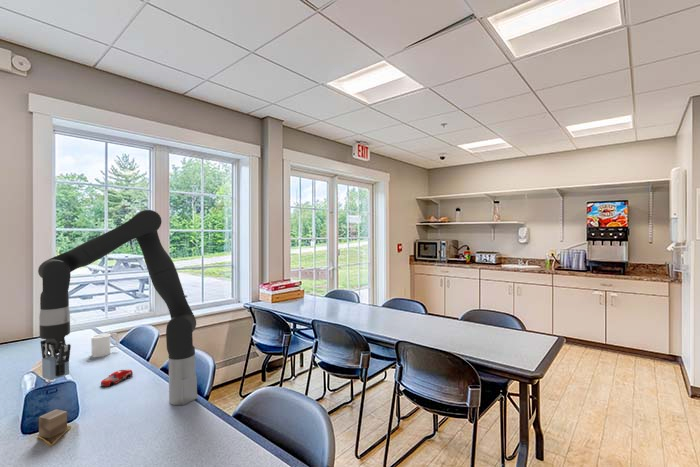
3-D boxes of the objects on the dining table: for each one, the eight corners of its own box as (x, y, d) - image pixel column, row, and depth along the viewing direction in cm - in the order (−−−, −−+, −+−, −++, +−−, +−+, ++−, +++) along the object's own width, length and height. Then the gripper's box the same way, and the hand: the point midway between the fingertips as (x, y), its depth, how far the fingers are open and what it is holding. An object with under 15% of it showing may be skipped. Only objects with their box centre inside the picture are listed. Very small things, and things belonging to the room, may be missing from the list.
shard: (52, 448, 106) (51, 442, 106) (22, 452, 105) (22, 446, 105) (72, 429, 117) (72, 423, 117) (46, 431, 115) (46, 426, 115)
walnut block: (67, 429, 113) (67, 411, 113) (49, 438, 108) (49, 419, 108) (56, 427, 115) (56, 409, 115) (38, 435, 110) (38, 416, 110)
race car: (106, 389, 146) (106, 379, 146) (97, 387, 147) (97, 377, 147) (135, 376, 158) (135, 367, 158) (126, 374, 160) (126, 366, 160)
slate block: (69, 374, 113) (68, 356, 113) (50, 380, 109) (50, 361, 109) (61, 371, 116) (60, 353, 116) (42, 377, 111) (42, 358, 111)
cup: (120, 352, 188) (119, 334, 188) (92, 358, 180) (92, 339, 180) (117, 349, 194) (117, 331, 194) (90, 354, 186) (90, 335, 186)
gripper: (80, 321, 112) (81, 373, 112) (57, 316, 119) (58, 366, 119) (52, 327, 106) (52, 382, 106) (29, 321, 112) (30, 374, 112)
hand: (55, 373), depth 112 cm, fingers closed on slate block, 5 cm apart
